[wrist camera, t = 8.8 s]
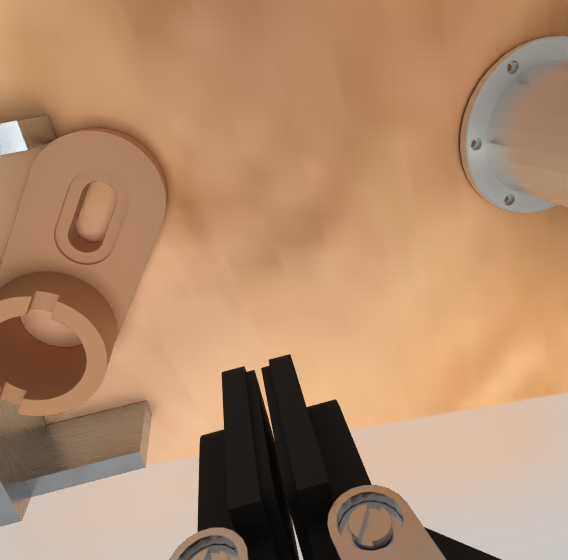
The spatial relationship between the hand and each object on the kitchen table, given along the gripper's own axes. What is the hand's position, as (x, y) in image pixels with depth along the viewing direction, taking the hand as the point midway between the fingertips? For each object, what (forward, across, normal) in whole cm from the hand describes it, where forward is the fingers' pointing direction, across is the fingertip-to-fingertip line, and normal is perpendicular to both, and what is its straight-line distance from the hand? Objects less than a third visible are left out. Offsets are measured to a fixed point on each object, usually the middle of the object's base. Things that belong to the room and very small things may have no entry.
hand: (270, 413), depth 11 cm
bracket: (+25, +11, +2) cm, 27 cm away
